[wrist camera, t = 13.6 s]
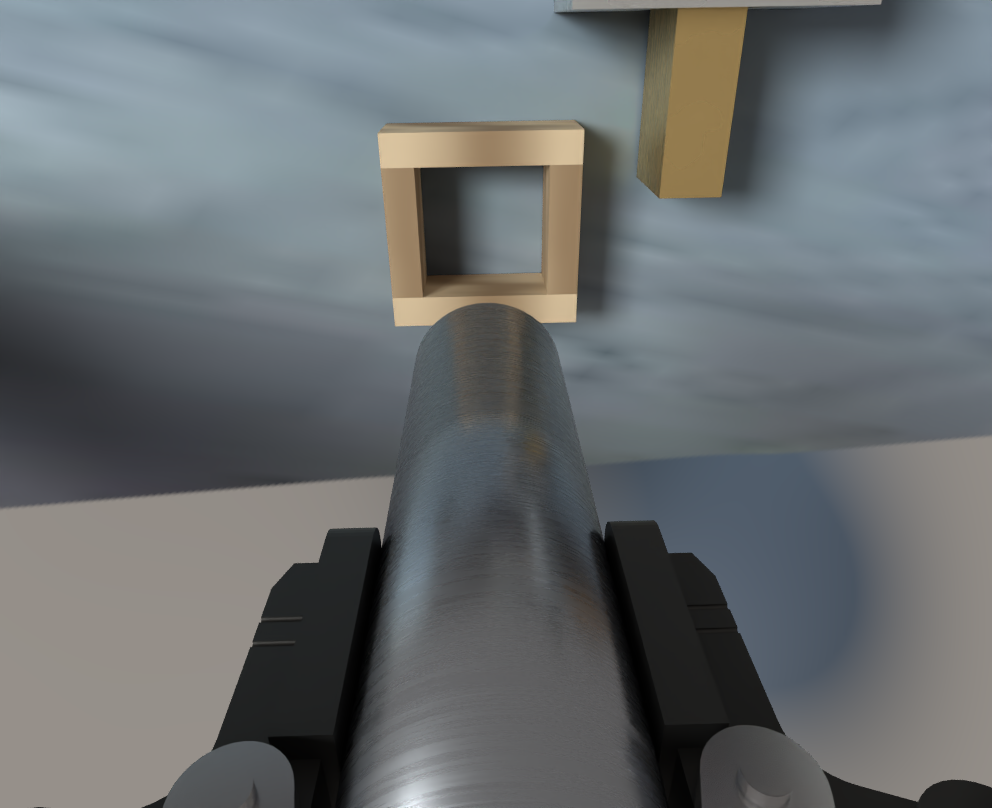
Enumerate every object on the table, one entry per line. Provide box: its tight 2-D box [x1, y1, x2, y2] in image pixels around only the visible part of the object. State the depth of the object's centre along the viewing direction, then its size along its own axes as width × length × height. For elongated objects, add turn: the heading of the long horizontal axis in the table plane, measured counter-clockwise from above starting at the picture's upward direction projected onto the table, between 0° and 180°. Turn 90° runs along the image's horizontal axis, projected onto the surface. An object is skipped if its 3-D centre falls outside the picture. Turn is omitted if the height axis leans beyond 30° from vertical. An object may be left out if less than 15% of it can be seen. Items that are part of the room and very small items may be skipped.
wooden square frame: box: [378, 120, 584, 326], centre depth 30 cm, size 8×8×3 cm
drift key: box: [637, 7, 748, 198], centre depth 26 cm, size 2×9×4 cm, turn 1°
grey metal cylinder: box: [335, 303, 669, 808], centre depth 11 cm, size 4×4×14 cm
